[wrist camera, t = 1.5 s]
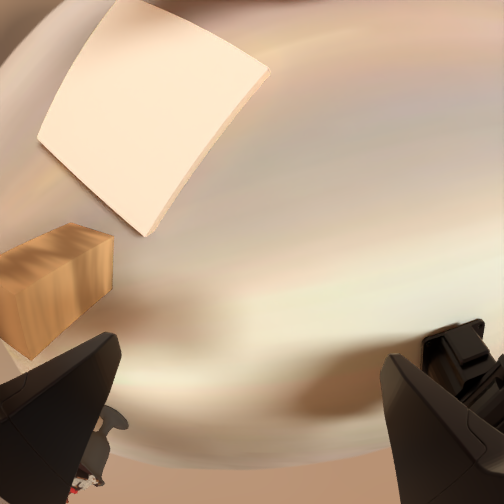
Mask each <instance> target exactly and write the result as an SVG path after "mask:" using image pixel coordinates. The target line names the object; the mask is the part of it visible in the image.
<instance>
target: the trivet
mask: <svg viewBox="0 0 504 504" xmlns="http://www.w3.org/2000/svg"><path fill="white" fill-rule="evenodd" d="M270 75H271V72H270V69H269V68H268V67H267V66H265V65H264V64H262V63H261V62H259V61H258V60H256V59H255V58H253V57H251V56H250V55H248V54H247V53H245V52H243V51H242V50H240V49H238V48H237V47H235V46H233V45H232V44H230V43H228V42H226V41H225V40H223V39H221V38H219V37H218V36H216V35H214V34H212V33H210V32H208V31H206V30H205V29H203V28H201V27H199V26H197V25H195V24H193V23H191V22H189V21H187V20H185V19H183V18H181V17H179V16H176V15H174V14H172V13H170V12H168V11H165V10H163V9H161V8H158V7H156V6H154V5H151V4H149V3H146V2H144V1H141V0H117V1H116V2H115V3H114V4H113V6H112V7H111V8H110V9H109V11H108V12H107V13H106V15H105V16H104V17H103V19H102V20H101V21H100V23H99V24H98V26H97V27H96V29H95V30H94V31H93V33H92V34H91V36H90V37H89V39H88V40H87V42H86V43H85V45H84V46H83V48H82V50H81V51H80V53H79V54H78V56H77V58H76V59H75V61H74V63H73V64H72V66H71V68H70V70H69V71H68V73H67V75H66V77H65V79H64V81H63V82H62V84H61V86H60V88H59V90H58V92H57V94H56V96H55V98H54V100H53V102H52V104H51V106H50V108H49V111H48V113H47V115H46V117H45V119H44V122H43V124H42V126H41V129H40V131H39V134H38V136H37V139H38V140H39V141H40V142H41V143H42V144H43V145H44V146H45V147H46V148H47V149H48V150H49V151H50V152H51V153H52V154H53V155H54V156H55V157H56V158H57V159H58V160H59V161H61V162H62V163H63V164H64V165H65V166H66V167H67V168H68V169H69V170H70V171H71V172H72V173H73V174H74V175H75V176H76V177H77V178H79V179H80V180H81V181H82V182H83V183H84V184H85V185H86V186H87V187H88V188H89V189H90V190H92V191H93V192H94V193H95V194H96V195H97V196H98V197H99V198H100V199H102V200H103V201H104V202H105V203H106V204H107V205H108V206H109V207H111V208H112V209H113V210H114V211H115V212H116V213H117V214H118V215H120V216H121V217H122V218H123V219H124V220H125V221H126V222H128V223H129V224H130V225H131V226H132V227H133V228H135V229H136V230H137V231H138V232H139V233H140V234H142V235H143V236H144V237H146V236H148V235H150V234H151V233H153V232H154V231H155V230H156V228H157V226H158V225H159V223H160V222H161V220H162V219H163V217H164V216H165V214H166V212H167V211H168V209H169V208H170V206H171V205H172V203H173V202H174V200H175V199H176V197H177V196H178V194H179V193H180V191H181V190H182V189H183V187H184V186H185V184H186V183H187V181H188V180H189V178H190V177H191V176H192V174H193V173H194V171H195V170H196V169H197V167H198V166H199V164H200V163H201V162H202V160H203V159H204V157H205V156H206V155H207V153H208V152H209V151H210V149H211V148H212V147H213V145H214V144H215V143H216V141H217V140H218V139H219V137H220V136H221V135H222V133H223V132H224V131H225V129H226V128H227V127H228V126H229V124H230V123H231V122H232V120H233V119H234V118H235V117H236V115H237V114H238V113H239V112H240V110H241V109H242V108H243V107H244V105H245V104H246V103H247V102H248V101H249V99H250V98H251V97H252V96H253V95H254V93H255V92H256V91H257V90H258V89H259V87H260V86H261V85H262V84H263V83H264V82H265V80H266V79H267V78H268V77H269V76H270Z"/></svg>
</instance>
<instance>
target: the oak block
mask: <svg viewBox="0 0 504 504" xmlns="http://www.w3.org/2000/svg"><path fill="white" fill-rule="evenodd" d="M113 246H114V236H112V235H109V234H105V233H102V232H99V231H96V230H93V229H89V228H86V227H83V226H80V225H77V224H74V223H69V224H66V225H64V226H62V227H59V228H57V229H55V230H52V231H50V232H48V233H45V234H43V235H41V236H39V237H36V238H34V239H32V240H30V241H28V242H26V243H24V244H21V245H19V246H17V247H15V248H13V249H11V250H9V251H7V252H5V253H3V254H1V255H0V338H1V339H2V340H4V341H5V342H6V343H8V344H9V345H10V346H12V347H13V348H14V349H16V350H17V351H18V352H20V353H21V354H22V355H24V356H25V357H27V358H28V359H30V360H31V361H32V360H33V359H34V358H35V357H36V356H37V355H38V354H39V353H40V352H41V351H42V350H43V349H44V348H46V347H47V346H48V345H49V344H50V343H51V342H52V341H53V340H54V339H55V338H56V337H58V336H59V335H60V334H61V333H62V332H63V331H64V330H65V329H66V328H68V327H69V326H70V325H71V324H72V323H73V322H74V321H75V320H77V319H78V318H79V317H80V316H81V315H82V314H84V313H85V312H86V311H87V310H88V309H89V308H90V307H92V306H93V305H94V304H95V303H96V302H98V301H99V300H100V299H101V298H102V297H103V296H105V295H106V294H107V293H108V292H109V291H111V290H112V277H113Z"/></svg>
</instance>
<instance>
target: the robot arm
mask: <svg viewBox="0 0 504 504" xmlns="http://www.w3.org/2000/svg"><path fill="white" fill-rule="evenodd" d="M484 326H485V323H484V321H483V320H482V319H479V320H476V321H473V322H471V323H468V324H465V325H463V326H460V327H457V328H454V329H451V330H448V331H445V332H442V333H439V334H436V335H433V336H430V337H427V338H425V339H424V340H423V341H422V355H421V370H420V369H419V368H418V367H416V366H415V365H414V364H412V363H411V362H410V361H409V360H407V359H406V358H405V357H404V356H402V355H401V354H399V353H394V354H388V355H387V357H386V359H385V362H384V364H383V367H382V369H381V372H380V382H381V390H382V398H383V407H384V415H385V420H386V425H387V429H388V434H389V439H390V444H391V449H392V453H393V459H394V464H395V470H396V476H397V482H398V488H399V494H400V501H401V504H504V354H502V355H501V356H500V357H499V358H498V361H497V362H496V361H495V360H494V358H493V357H492V355H491V354H490V350H489V349H488V347H487V346H486V345H485V343H484V342H483V341H482V339H483V333H484ZM428 342H429V343H428ZM427 343H428V344H427ZM120 360H121V349H120V345H119V342H118V338H117V336H116V334H114V333H109V332H104V333H102V334H100V335H98V336H96V337H94V338H92V339H90V340H88V341H86V342H84V343H82V344H80V345H79V346H77V347H75V348H73V349H71V350H69V351H67V352H65V353H63V354H61V355H59V356H57V357H55V358H53V359H51V360H49V361H48V362H46V363H44V364H42V365H40V366H38V367H36V368H34V369H32V370H30V371H28V372H26V373H24V374H22V375H20V376H18V377H16V378H14V379H12V380H10V381H8V382H6V383H3V384H1V385H0V504H66V501H67V498H68V495H69V492H70V489H71V486H72V483H73V481H74V478H75V475H76V473H77V470H78V467H79V465H80V462H81V460H82V457H83V454H84V452H85V449H86V447H87V445H88V442H89V440H90V437H91V435H92V432H93V430H94V428H95V425H96V423H97V421H98V418H99V416H100V414H101V411H102V409H103V407H104V404H105V402H106V400H107V398H108V395H109V393H110V390H111V387H112V384H113V381H114V378H115V375H116V372H117V369H118V366H119V363H120Z"/></svg>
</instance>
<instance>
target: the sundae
mask: <svg viewBox="0 0 504 504" xmlns="http://www.w3.org/2000/svg"><path fill="white" fill-rule="evenodd" d="M100 417H101V418H102V419H103V424H102V426H101V428H100V429H99V431H97V432H94V431H93V432H92V435H91V437H90V440H89V442H88V445H87V447H86V449H85V452H84V454H83V457H82V460H81V462H80V465H79V467H78V470H77V473H76V475H75V478H74V481H73V483H72V486H71V489H70V492H69V494H70V493H74V494H76V493H77V492H78V490H85V489H86V488H88V487H89V486H90V485H92V484H93V485H95V486H96V487H98V486H103V485H104V484H105V483H104V481H103V480H102V477H101V476H102V472H103V469H104V466H105V464H106V461H107V459H108V456H109V452H110V446H109V443H108V441H107V438H106V436H107V434H108V432H109V431H110V430H111V429H112V428H113V427H114V428H117V429H121V430H125V429H127V428H128V426H129V425H128V422H127V420H126V419H125V418H124V417H123V416H122V415H121V414H120V413H119V412H117V411H116V410H114V409H113V408H111V407H108V406H105V405H104V407H103V409H102V411H101V414H100ZM68 502H69V501H68V498H67V501H66V503H68Z"/></svg>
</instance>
